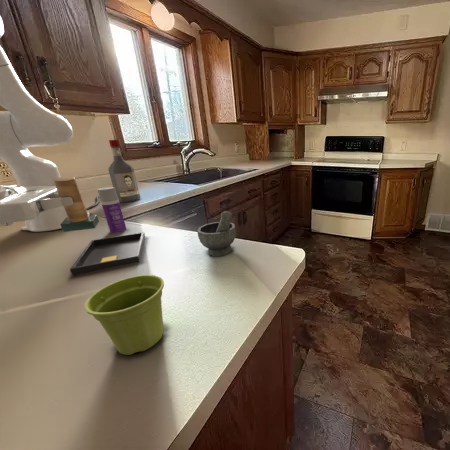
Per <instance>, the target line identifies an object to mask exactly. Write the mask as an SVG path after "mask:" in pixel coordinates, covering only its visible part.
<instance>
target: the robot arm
mask: <svg viewBox="0 0 450 450" xmlns="http://www.w3.org/2000/svg"><path fill="white" fill-rule="evenodd" d="M4 33H5V27H4V21H3V19H2V16H1V15H0V39H1V38H2V37H3V35H4ZM21 81H22V80H20V78H19V76H18V75H17V73H16V71H15V69H14V67H13V65H12V63H11V62H10V59H9V58H8V56H7V54H6V52H5V50H4V49H3V47H2V46H1V45H0V107H2V108H3V109H5V110H0V160H2V161H3V162H4V164H6V166H7V167H8V168H9V170H10V171H11V174H12V175H13V177H14V179H15V181H16V183H17V184H5V185H1V184H0V228H2V227H9V226H12V225H13V224H14V223H18V222H24V224H25V225H24V226H21V229H22V231H30V232H48V231H56V230H59V229H61V230H62V227H61V225H60V224H61V223H62V222H63V221H64V220H65V218H66V217H68V216H67V214H66V211H65V209H64V206H69V205H72V204H74V203H75V201H74V198H73V197H72V196H68V197H61V198H60V196H59V194H58V191H57V189H56V186H55V184H54V181H53V180H54V179H56V178H60V177H62V176H61V173H60V170H59V167H58V166H57V165H56V164H55V163H54V162H52V161H51V160H48V159H47V158H42V157H40V156H37V155H34V154H33V153H32V152H31V151H30V150H29V148H41V147H44V148H47V147H57V146H62V145H68V144H70V143H71V142H72V140H73V138H74V130H73V127H72V125H71V124H70V123H69V121H68V120H67V119H66V118H64V117H63V116H62V115H61V114H58V113H56V112H54V111H52V110H50V109H49V108H47V107H45V106H43V104H41V103H40V102H38V101H37V100H36V99H35V98H34V97H33V96H32V95H31V94H30V93H29V91H28V90H27V89H26V88H25V86H24V85H23V83H22V82H21ZM95 199H96V200H95V201H96V202H95V203H94V204H92V205H90V206H88V207H87V208H86V207H85V208H86V211H87V214H88V215H91V214H90V211H88V210H90V209H92V208H94V207H96V206H97V205H98V204H99V203H100V197H99V194H97V195H96V197H95Z"/></svg>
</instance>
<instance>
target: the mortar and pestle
mask: <svg viewBox="0 0 450 450" xmlns="http://www.w3.org/2000/svg"><path fill="white" fill-rule="evenodd" d="M232 219H233V213H232V212H231V211H228V210H224V211H222V212H221V214H220V220H219V221H215V222H209V223H205V224H203V225H202V226H201V225H200V226H199V227H197V237H198V239H199V242H200V243H201V245H202V246H203V247H205V248H206V249H208V251H207V252H208V255H209V256H212V257H218V256H219V257H220V256H221V257H222V256H224V255H227V254H229V253H230V252H232V246H231V245H232V244H233V243H234V241H235V239H236V235H237V233H236V232H237V231H236V225H235V223H233V222H231V220H232Z"/></svg>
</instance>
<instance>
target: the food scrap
mask: <svg viewBox="0 0 450 450" xmlns="http://www.w3.org/2000/svg"><path fill="white" fill-rule="evenodd" d="M116 259H118V257H117V255H116V256H111V257H106V258H103V259H102V260H101V262H105V261H110V260H116Z"/></svg>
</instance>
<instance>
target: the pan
mask: <svg viewBox="0 0 450 450" xmlns="http://www.w3.org/2000/svg"><path fill="white" fill-rule="evenodd" d="M145 239H146V234H145V232H144V231H141V232H134V233H129V234H124V235H117V236H110V237H104V238H98V239H97V238H96V239H92V240H90V242H89V243H88V244H87V245H86V247H85V248H84V250H83V251H82V253H80V255H79V257H78V258H77V259H76V260H75V262H74V263H73V265H71V267H70V268H69V270H70V273H71V276H77V275H82V274H87V273H93V272H97V271H102V270H106V269H112V268H117V267H120V266H121V267H122V266H126V265H131V264H136V263H140V262H141V259H142V254H143V248H144V244H145ZM116 255H117V257H118V259H116V260H110V261H105V262H101V260H102V259H103V258H106V257H111V256H116Z"/></svg>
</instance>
